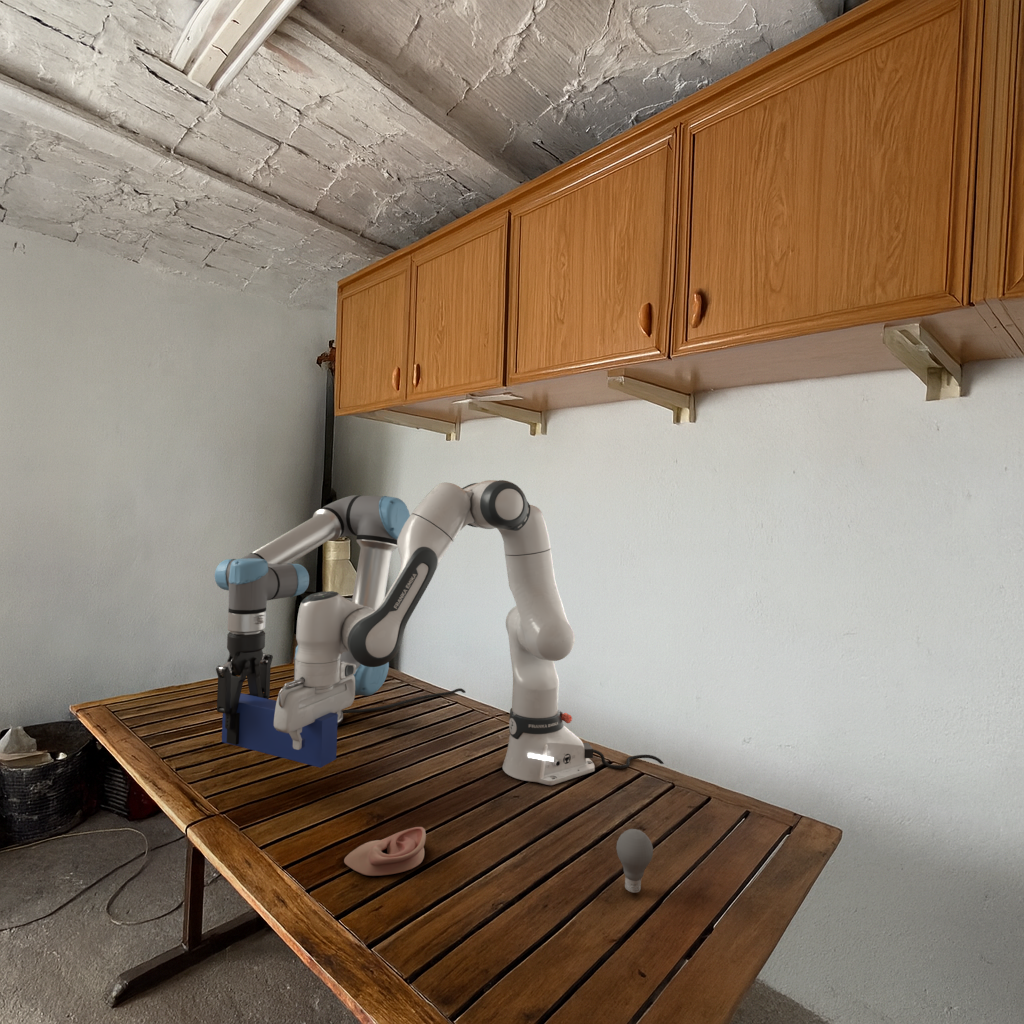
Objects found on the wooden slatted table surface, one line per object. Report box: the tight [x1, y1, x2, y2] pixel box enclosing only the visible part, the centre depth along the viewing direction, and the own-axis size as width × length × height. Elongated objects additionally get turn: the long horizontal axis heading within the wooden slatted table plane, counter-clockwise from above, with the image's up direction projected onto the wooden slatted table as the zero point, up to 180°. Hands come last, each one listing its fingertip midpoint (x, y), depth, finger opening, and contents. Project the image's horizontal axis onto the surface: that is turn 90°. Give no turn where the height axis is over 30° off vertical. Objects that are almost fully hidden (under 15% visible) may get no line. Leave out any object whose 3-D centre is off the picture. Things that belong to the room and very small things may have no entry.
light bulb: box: [615, 828, 654, 894], centre depth 106 cm, size 6×6×10 cm
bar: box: [221, 692, 338, 768], centre depth 132 cm, size 27×5×9 cm, turn 67°
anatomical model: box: [343, 826, 427, 877], centre depth 112 cm, size 13×4×12 cm
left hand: (242, 738), depth 136 cm, fingers closed on bar, 5 cm apart
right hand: (315, 740), depth 128 cm, fingers open, 8 cm apart
